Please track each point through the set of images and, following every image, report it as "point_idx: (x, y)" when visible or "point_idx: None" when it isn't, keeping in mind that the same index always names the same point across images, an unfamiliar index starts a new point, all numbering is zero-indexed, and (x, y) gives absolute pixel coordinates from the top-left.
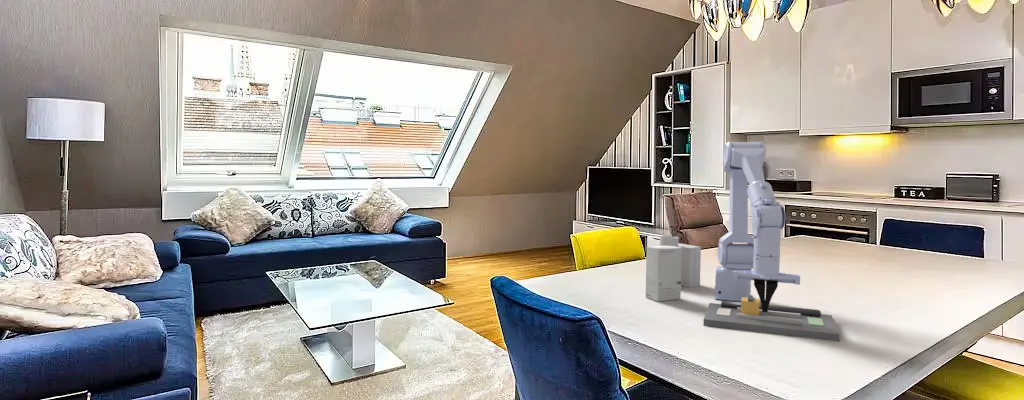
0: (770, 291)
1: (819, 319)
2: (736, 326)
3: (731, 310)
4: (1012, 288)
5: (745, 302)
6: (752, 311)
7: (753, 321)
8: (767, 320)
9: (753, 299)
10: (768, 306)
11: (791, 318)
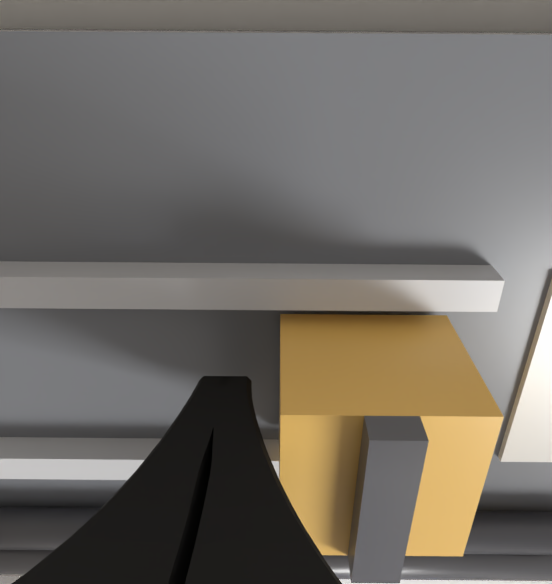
0: (96, 565)
1: None
2: (511, 33)
3: (496, 445)
4: None
5: (444, 404)
6: (345, 341)
7: (333, 174)
8: (200, 263)
9: (343, 510)
10: (180, 412)
11: (21, 397)
